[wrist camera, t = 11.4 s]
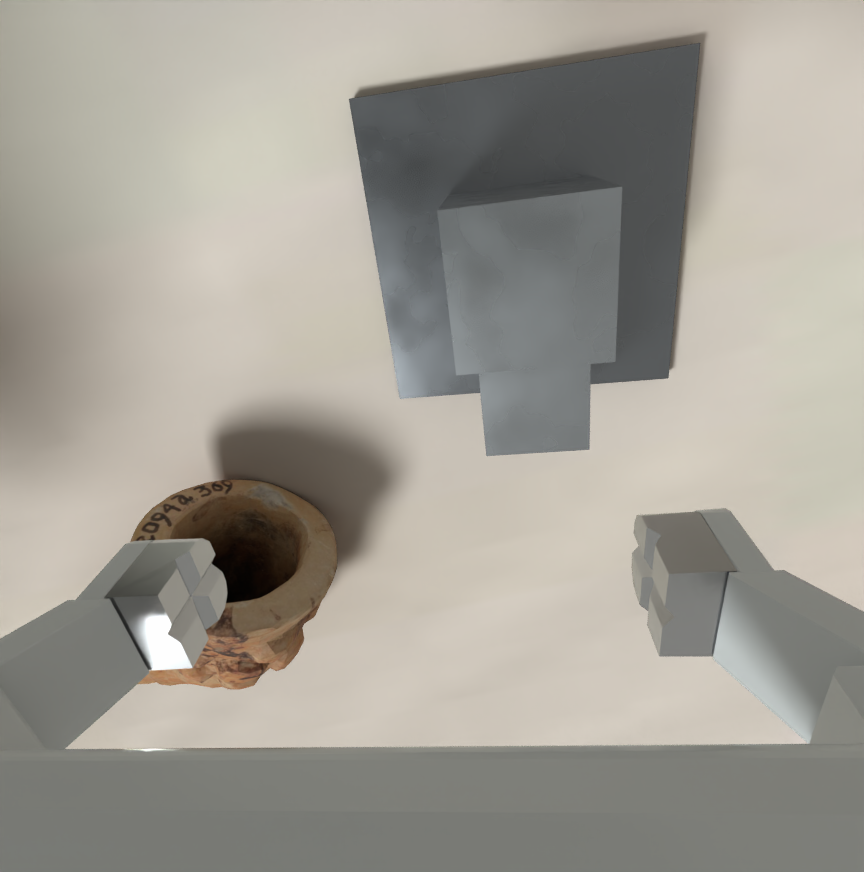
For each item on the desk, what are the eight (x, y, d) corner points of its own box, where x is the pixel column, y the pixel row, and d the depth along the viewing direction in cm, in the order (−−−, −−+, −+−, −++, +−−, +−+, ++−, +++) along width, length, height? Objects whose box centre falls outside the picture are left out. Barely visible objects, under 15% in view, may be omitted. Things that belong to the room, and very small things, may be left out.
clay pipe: (382, 569, 41) (326, 440, 30) (368, 719, 34) (289, 619, 23) (157, 581, 43) (32, 465, 33) (99, 725, 36) (-87, 636, 25)
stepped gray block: (448, 194, 24) (437, 210, 18) (590, 175, 23) (622, 186, 18) (470, 399, 29) (465, 459, 23) (588, 390, 28) (612, 450, 22)
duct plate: (401, 394, 30) (389, 428, 26) (352, 99, 23) (328, 93, 19) (665, 373, 28) (690, 407, 24) (694, 45, 21) (735, 26, 17)
